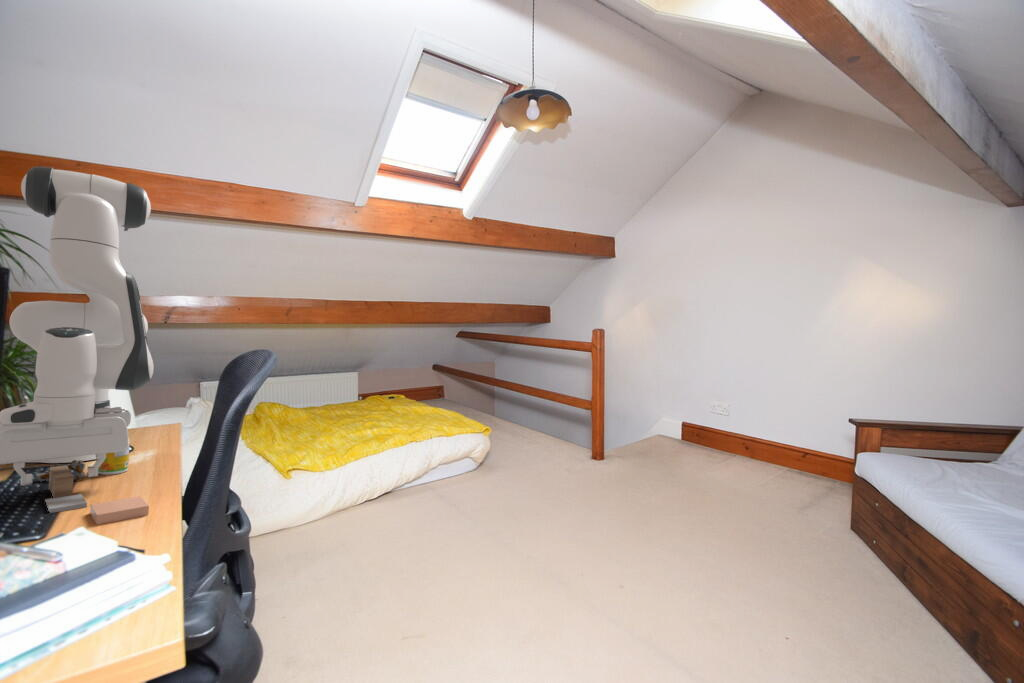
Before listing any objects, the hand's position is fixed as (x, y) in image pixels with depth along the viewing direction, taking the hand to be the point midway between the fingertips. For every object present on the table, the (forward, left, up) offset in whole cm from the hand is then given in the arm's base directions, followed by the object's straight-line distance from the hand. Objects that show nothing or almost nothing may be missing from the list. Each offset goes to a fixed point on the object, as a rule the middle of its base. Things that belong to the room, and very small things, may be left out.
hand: (60, 480), depth 93 cm
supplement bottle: (-12, +10, -3) cm, 16 cm away
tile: (+16, +6, -2) cm, 18 cm away
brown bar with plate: (+4, 0, -3) cm, 5 cm away
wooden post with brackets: (-11, +1, -3) cm, 11 cm away
